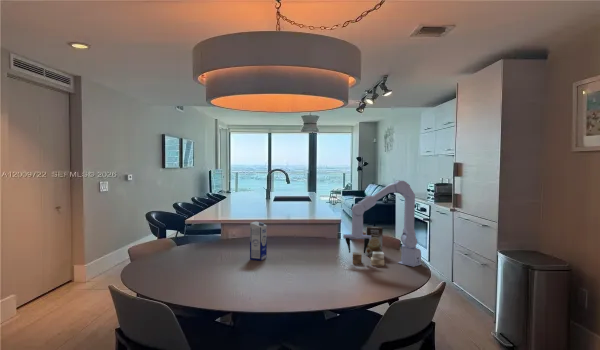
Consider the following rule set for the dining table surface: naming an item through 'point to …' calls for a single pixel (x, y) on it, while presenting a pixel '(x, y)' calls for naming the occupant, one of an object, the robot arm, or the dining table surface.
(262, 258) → the milk carton
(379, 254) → the top block
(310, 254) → the dining table surface
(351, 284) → the dining table surface
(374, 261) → the base block
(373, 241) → the coffee box
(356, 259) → the walnut block
